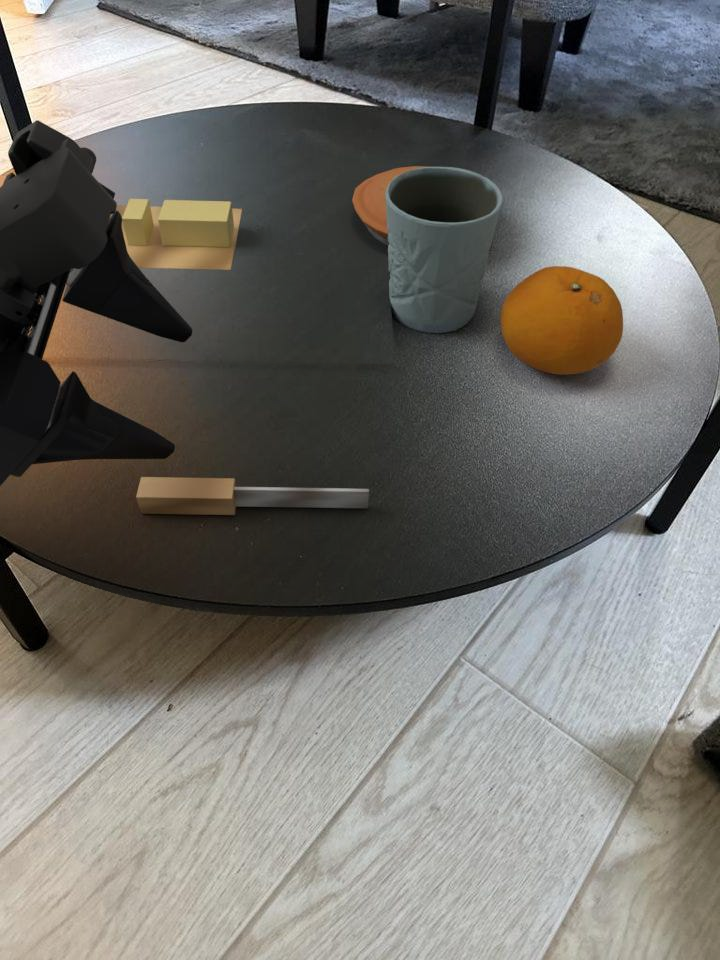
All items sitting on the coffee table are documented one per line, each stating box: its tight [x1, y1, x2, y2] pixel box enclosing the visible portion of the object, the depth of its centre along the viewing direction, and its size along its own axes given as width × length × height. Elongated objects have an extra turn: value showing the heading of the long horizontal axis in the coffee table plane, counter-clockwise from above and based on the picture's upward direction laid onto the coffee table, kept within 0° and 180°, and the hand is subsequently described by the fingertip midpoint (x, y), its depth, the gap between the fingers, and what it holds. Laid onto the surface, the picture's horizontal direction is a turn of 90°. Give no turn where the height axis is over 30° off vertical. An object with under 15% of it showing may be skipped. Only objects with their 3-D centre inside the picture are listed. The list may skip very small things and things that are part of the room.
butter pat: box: [122, 198, 154, 245], centre depth 76 cm, size 2×4×3 cm, turn 0°
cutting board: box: [109, 205, 243, 271], centre depth 78 cm, size 16×12×1 cm
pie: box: [351, 165, 426, 246], centre depth 80 cm, size 16×16×5 cm
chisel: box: [135, 476, 370, 516], centre depth 55 cm, size 17×2×2 cm, turn 90°
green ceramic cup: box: [385, 166, 504, 334], centre depth 68 cm, size 10×10×12 cm
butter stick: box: [158, 199, 234, 247], centre depth 77 cm, size 7×4×3 cm, turn 90°
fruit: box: [500, 265, 624, 376], centre depth 66 cm, size 10×10×8 cm
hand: (180, 390), depth 43 cm, fingers open, 9 cm apart
